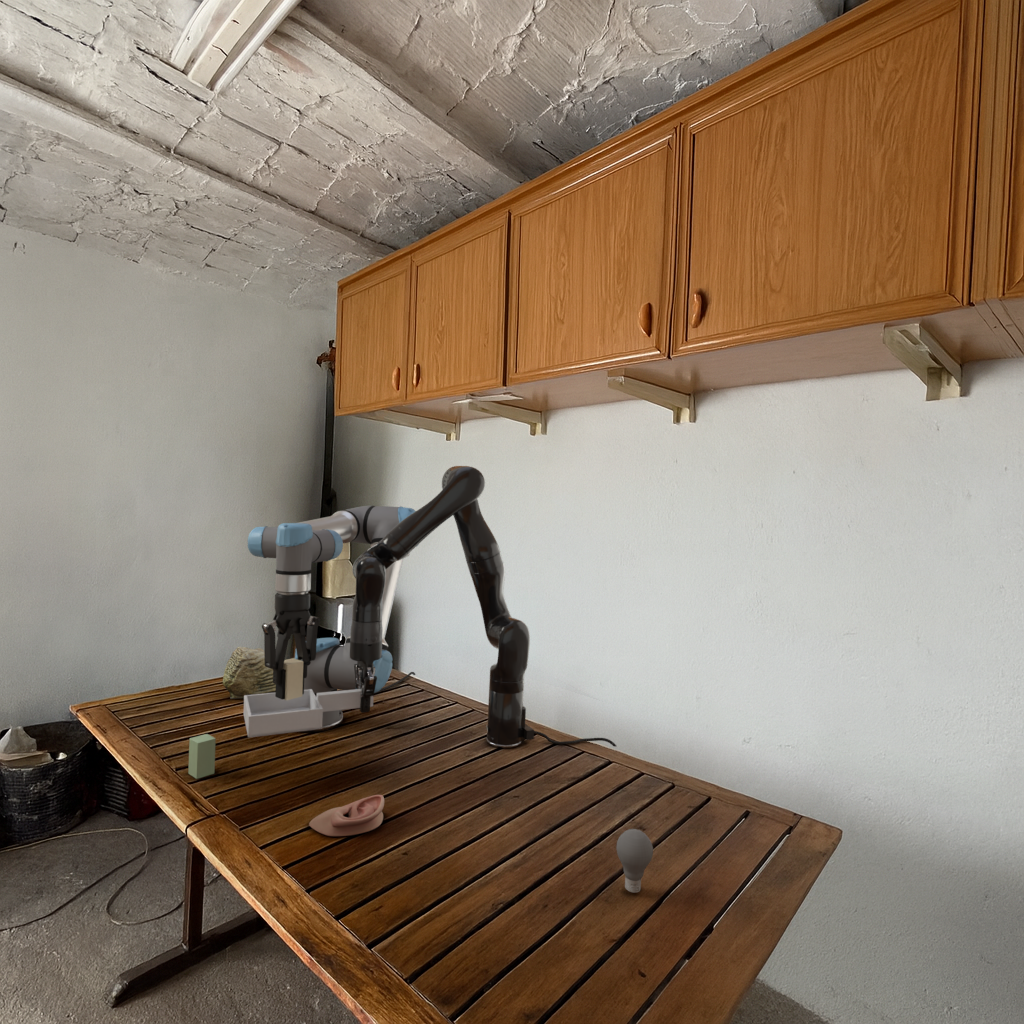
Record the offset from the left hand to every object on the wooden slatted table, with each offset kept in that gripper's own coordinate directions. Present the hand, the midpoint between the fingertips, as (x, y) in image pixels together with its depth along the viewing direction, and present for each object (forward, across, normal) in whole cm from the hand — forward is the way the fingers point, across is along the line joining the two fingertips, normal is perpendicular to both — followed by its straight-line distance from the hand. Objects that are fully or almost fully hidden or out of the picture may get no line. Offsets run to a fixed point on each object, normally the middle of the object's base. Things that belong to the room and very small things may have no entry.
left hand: (289, 695), depth 143 cm
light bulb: (+18, -15, +79) cm, 82 cm away
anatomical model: (+18, +4, +27) cm, 33 cm away
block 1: (+18, +13, -14) cm, 26 cm away
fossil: (+19, -24, -58) cm, 65 cm away
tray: (+6, -5, +1) cm, 9 cm away
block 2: (0, 0, 0) cm, 0 cm away
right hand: (+6, -16, +6) cm, 18 cm away
